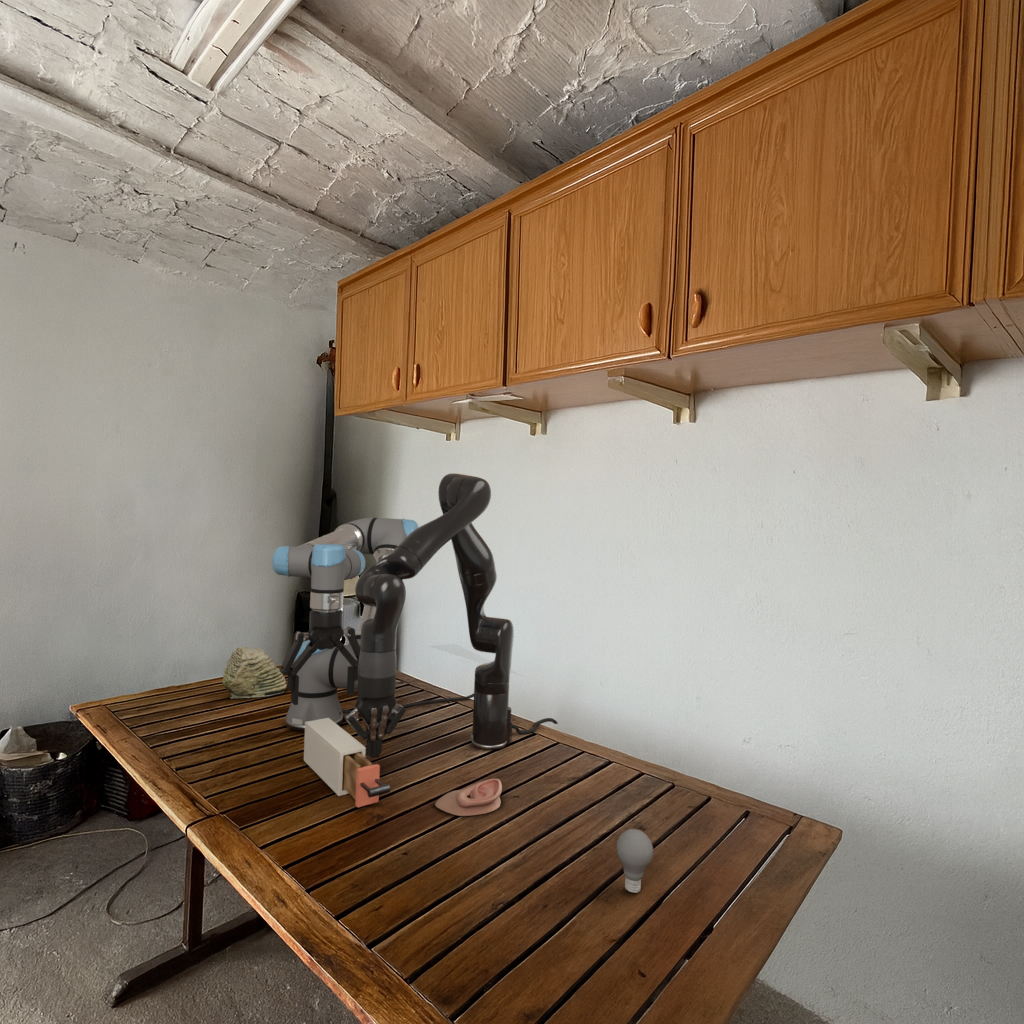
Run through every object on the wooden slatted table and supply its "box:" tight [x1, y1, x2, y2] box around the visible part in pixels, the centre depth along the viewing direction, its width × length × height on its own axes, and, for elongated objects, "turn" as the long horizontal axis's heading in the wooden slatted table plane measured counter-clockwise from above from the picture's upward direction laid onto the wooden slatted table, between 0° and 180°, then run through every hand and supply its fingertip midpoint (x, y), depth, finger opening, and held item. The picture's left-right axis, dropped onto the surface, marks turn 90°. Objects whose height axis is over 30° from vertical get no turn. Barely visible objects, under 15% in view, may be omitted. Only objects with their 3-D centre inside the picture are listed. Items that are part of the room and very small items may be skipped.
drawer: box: [342, 752, 391, 808], centre depth 135 cm, size 26×5×8 cm, turn 38°
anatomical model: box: [434, 778, 503, 817], centre depth 133 cm, size 13×4×12 cm
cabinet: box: [303, 718, 366, 797], centre depth 145 cm, size 22×6×9 cm, turn 38°
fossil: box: [222, 646, 288, 699], centre depth 198 cm, size 9×18×15 cm, turn 132°
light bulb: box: [615, 828, 654, 894], centre depth 106 cm, size 6×6×10 cm
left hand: (323, 698), depth 150 cm, fingers open, 13 cm apart
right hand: (373, 756), depth 128 cm, fingers closed
